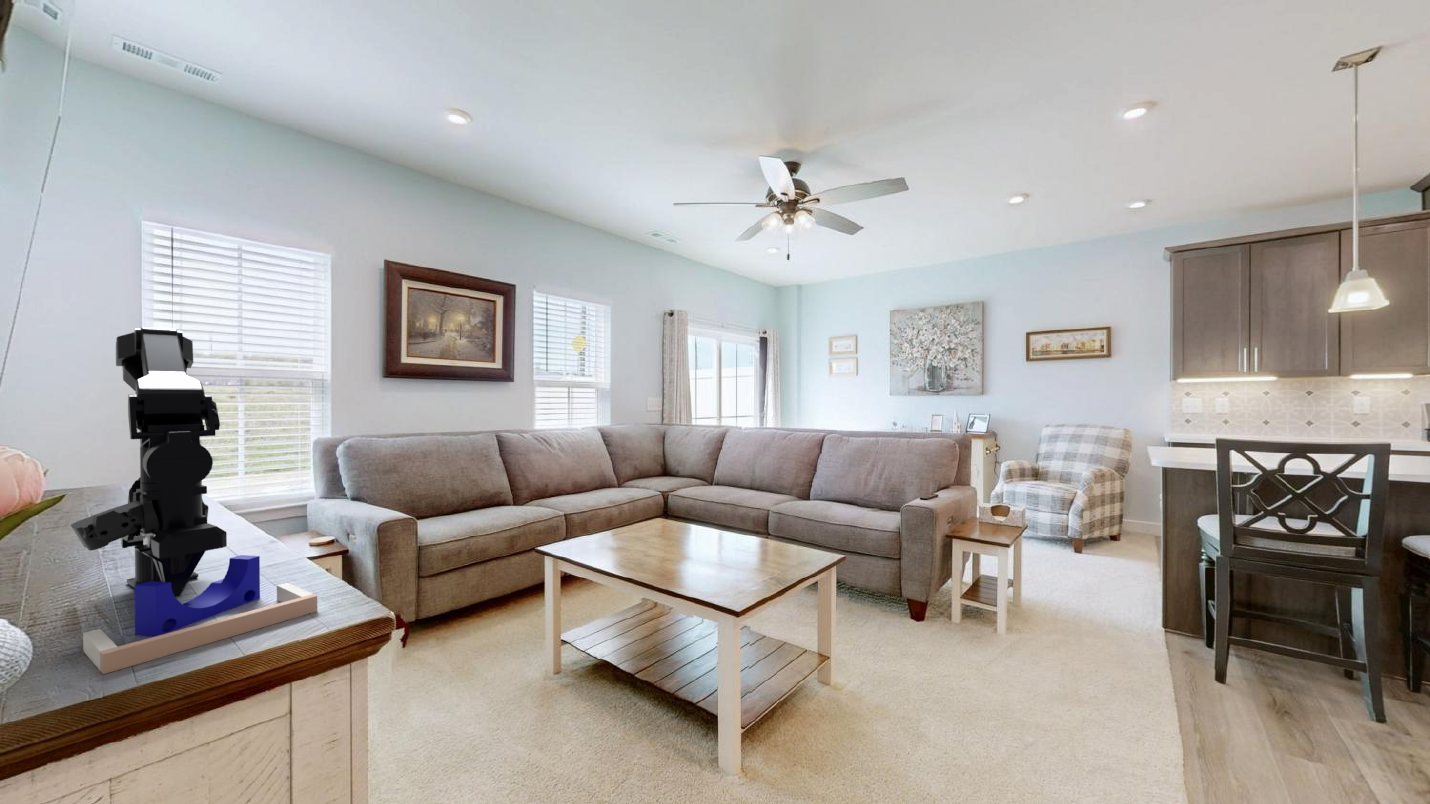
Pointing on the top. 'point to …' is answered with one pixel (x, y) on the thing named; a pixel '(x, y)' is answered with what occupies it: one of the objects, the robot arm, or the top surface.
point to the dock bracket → (196, 632)
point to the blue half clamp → (195, 599)
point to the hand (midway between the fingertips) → (173, 597)
